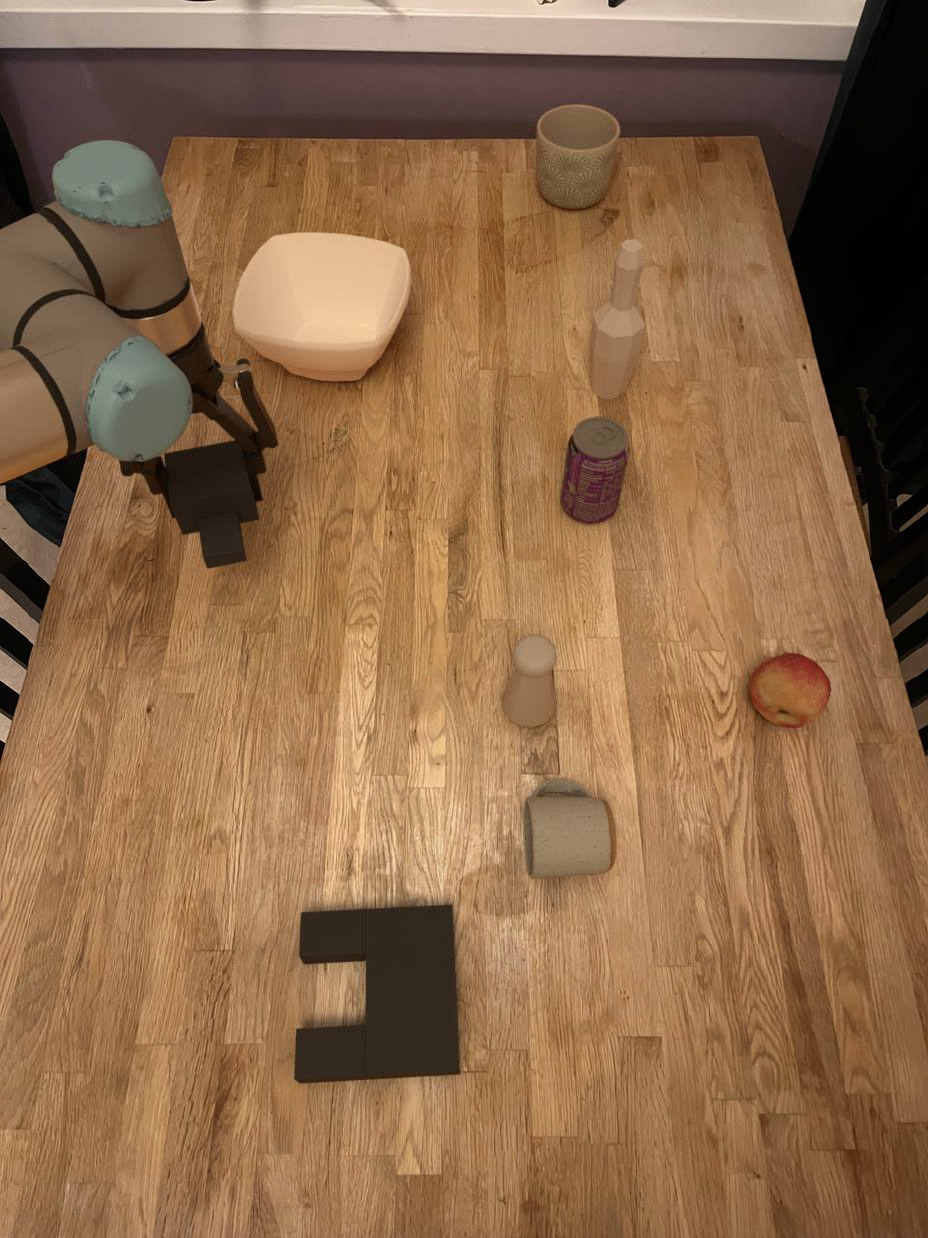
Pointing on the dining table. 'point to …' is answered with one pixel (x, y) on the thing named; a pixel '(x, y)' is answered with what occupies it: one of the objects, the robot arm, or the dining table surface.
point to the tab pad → (212, 498)
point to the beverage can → (594, 469)
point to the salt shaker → (531, 682)
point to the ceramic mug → (567, 832)
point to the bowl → (322, 302)
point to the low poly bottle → (618, 326)
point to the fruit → (790, 690)
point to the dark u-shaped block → (385, 995)
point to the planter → (575, 155)
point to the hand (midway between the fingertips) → (216, 499)
